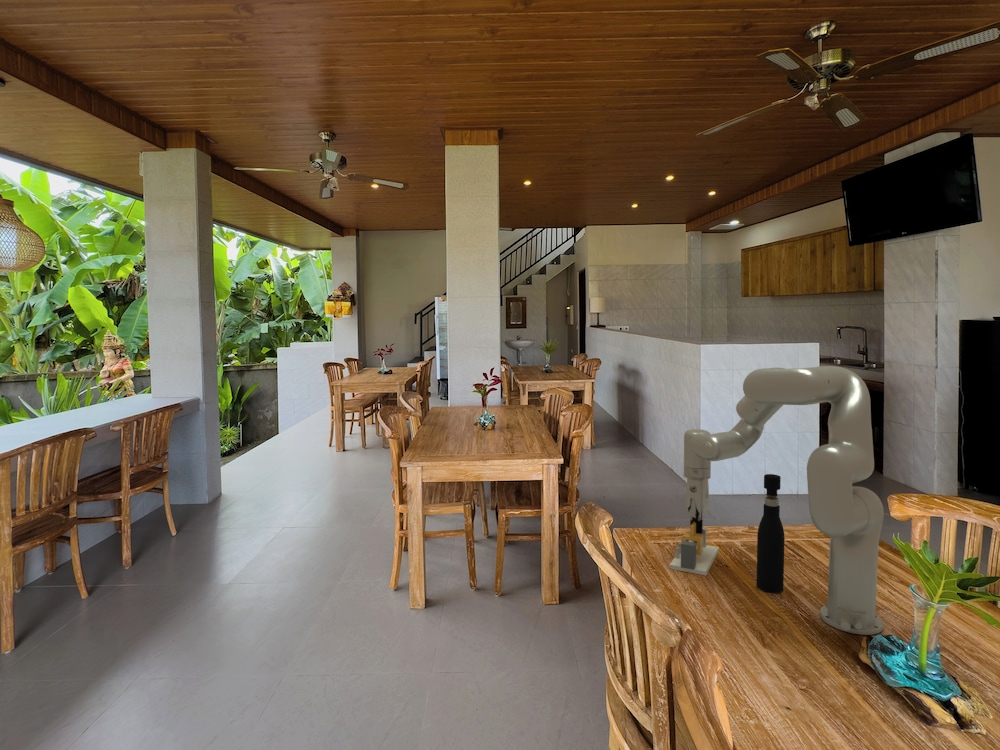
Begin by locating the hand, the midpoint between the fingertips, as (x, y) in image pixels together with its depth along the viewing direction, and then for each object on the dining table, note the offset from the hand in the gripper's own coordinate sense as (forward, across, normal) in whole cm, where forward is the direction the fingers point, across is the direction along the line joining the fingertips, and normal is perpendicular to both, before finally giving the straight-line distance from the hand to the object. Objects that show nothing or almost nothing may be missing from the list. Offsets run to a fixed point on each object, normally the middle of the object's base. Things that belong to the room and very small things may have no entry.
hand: (696, 532), depth 171 cm
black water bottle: (+8, -11, -21) cm, 25 cm away
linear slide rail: (+8, -1, 0) cm, 8 cm away
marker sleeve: (+4, -5, 0) cm, 6 cm away
